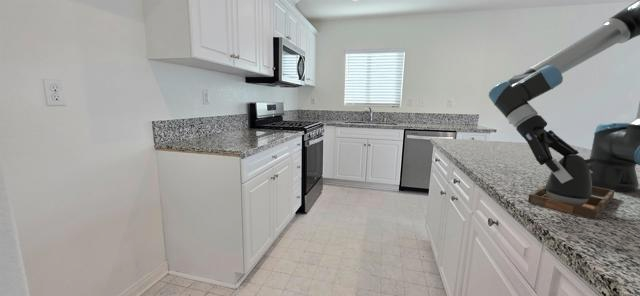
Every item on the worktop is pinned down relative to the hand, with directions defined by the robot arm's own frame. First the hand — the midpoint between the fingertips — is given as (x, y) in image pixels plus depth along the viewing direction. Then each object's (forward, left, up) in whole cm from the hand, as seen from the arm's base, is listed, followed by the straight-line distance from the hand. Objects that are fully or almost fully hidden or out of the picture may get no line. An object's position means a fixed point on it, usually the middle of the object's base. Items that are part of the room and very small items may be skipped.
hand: (578, 178), depth 78 cm
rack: (-7, -2, -9) cm, 11 cm away
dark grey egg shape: (0, -2, -9) cm, 9 cm away
